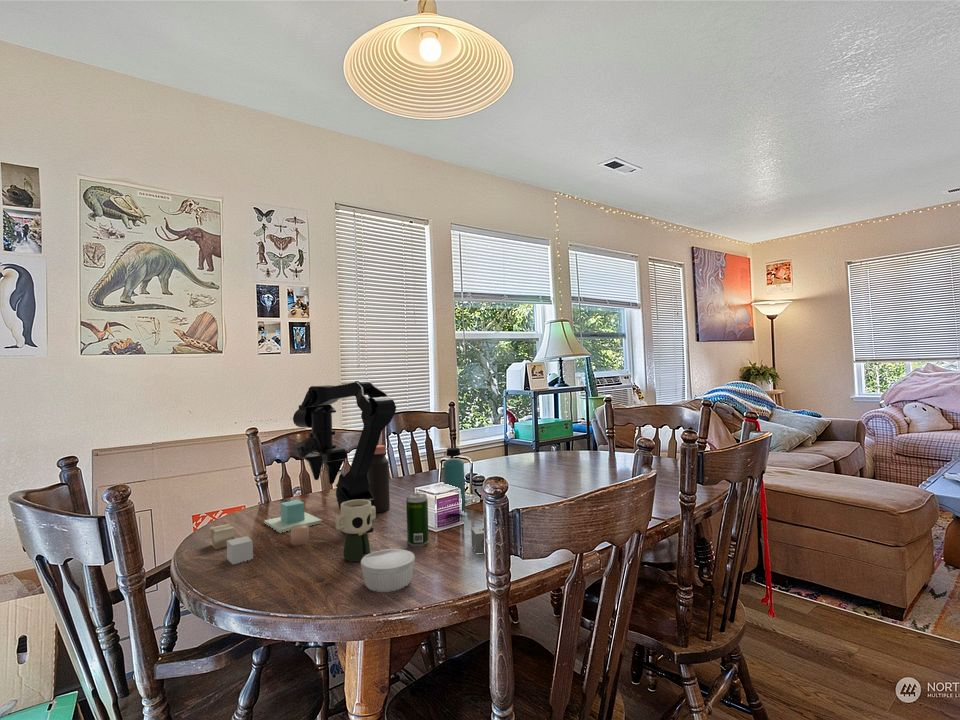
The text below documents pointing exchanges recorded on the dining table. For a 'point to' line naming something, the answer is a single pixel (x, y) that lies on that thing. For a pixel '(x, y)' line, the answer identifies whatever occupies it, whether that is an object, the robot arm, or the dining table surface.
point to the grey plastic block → (239, 550)
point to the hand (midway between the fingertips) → (323, 481)
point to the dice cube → (478, 539)
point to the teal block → (292, 511)
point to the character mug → (356, 527)
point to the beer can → (417, 519)
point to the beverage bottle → (455, 472)
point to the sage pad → (284, 527)
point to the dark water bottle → (379, 479)
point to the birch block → (221, 535)
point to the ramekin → (388, 569)
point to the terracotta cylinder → (299, 534)
